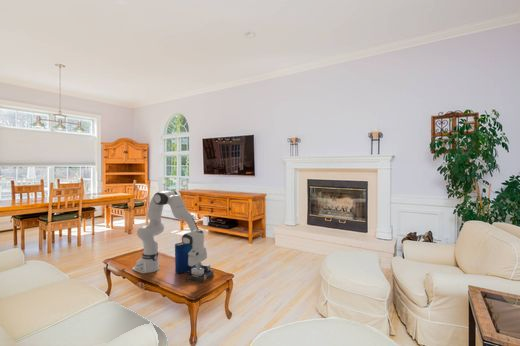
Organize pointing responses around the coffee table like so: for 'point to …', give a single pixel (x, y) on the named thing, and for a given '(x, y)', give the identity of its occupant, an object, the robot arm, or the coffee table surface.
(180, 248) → the book
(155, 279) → the coffee table surface
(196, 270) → the block
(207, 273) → the rack
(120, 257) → the coffee table surface
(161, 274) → the coffee table surface
